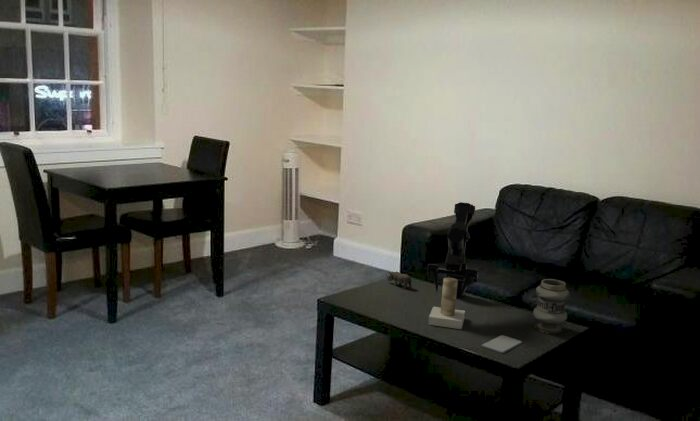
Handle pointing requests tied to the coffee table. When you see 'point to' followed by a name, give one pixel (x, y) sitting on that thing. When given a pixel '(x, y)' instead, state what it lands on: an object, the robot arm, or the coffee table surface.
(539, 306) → the apothecary jar
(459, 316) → the cream plinth
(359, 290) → the coffee table surface
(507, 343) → the smartphone
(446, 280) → the birch pillar
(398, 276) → the rhino figurine
